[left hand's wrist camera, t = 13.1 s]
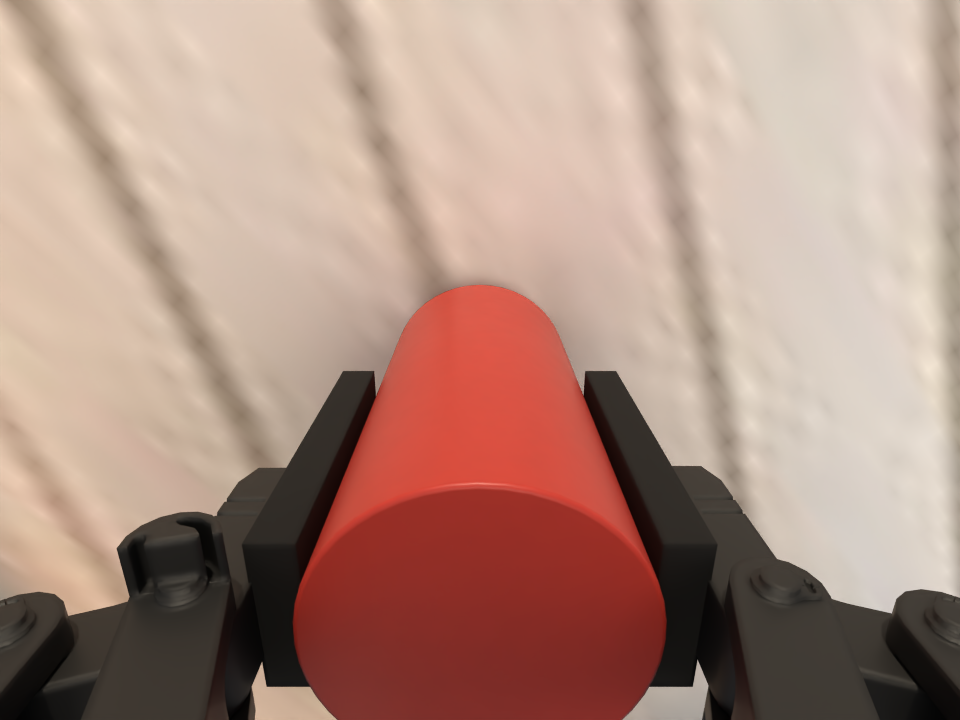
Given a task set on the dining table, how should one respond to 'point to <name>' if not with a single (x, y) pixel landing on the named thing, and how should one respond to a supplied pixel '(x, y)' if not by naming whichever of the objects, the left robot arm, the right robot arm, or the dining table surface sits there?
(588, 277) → the dining table surface
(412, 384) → the canister
